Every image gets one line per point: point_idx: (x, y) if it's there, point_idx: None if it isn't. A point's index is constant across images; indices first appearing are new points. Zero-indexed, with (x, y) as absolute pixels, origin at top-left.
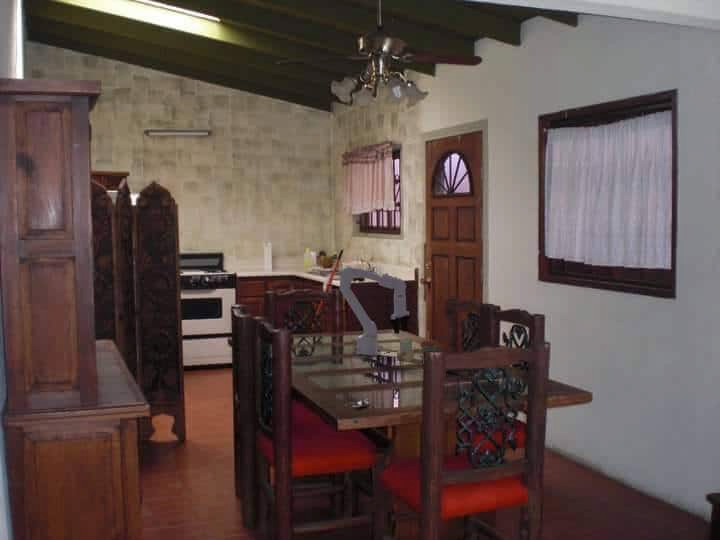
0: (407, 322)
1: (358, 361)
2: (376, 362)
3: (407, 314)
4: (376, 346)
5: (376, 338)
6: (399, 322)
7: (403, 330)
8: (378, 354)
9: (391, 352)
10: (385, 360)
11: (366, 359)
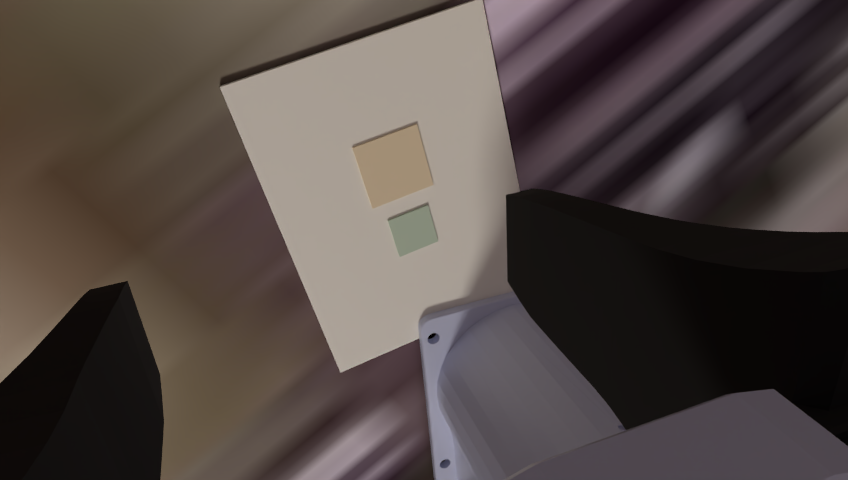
0: (62, 413)
1: (828, 199)
2: (832, 25)
3: (691, 447)
4: (553, 350)
5: (610, 419)
6: (821, 242)
7: (151, 354)
8: (503, 281)
9: (318, 258)
10: (722, 10)
11: (735, 207)
